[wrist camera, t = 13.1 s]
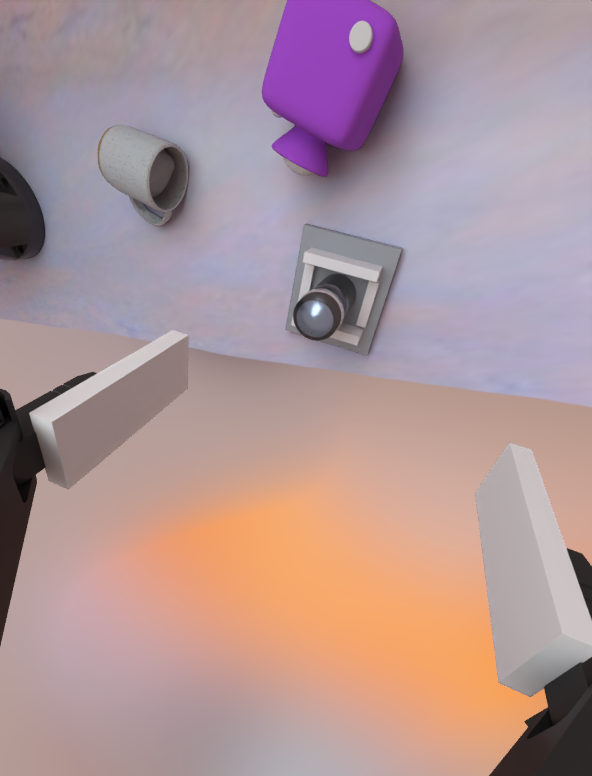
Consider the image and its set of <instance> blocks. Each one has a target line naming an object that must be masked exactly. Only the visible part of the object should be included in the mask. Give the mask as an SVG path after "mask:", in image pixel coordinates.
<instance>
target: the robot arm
mask: <svg viewBox="0 0 592 776" xmlns="http://www.w3.org/2000/svg"><path fill="white" fill-rule="evenodd" d="M43 241H44V223H43V218H42V214H41V211H40V208H39V205H38V203H37V200H36V198H35V196H34V194H33V192H32V190H31V189H30V187H29V186H28V184H27V183H26V181H25V180H24V178H23V177H22V176H21V175H20V174H19V173H18V171H17V170H16V169H15V168H14V167H12V166H11V165H10V164H9V163H8V162H6V161H5V160H3V159H2V158H0V259H4V260H21V259H26V258H31V257H33V256H35V255H36V254H37V253H38V252H39V251H40V249H41V247H42V245H43ZM188 336H189V335H187V334H184V333H181V332H178V331H175V330H172V331H170V332H168V333H167V334H165V335H163V336H161V337H160V338H158V339H156V340H154V341H153V342H151V343H150V344H148V345H146V346H144V347H142V348H141V349H139V350H138V351H135V352H134V353H132V354H130V355H128V356H127V357H125V358H123V359H122V360H120V361H118V362H116V363H115V364H113V365H111V366H109V367H108V368H106V369H104V370H103V371H101V372H99V373H94V372H91V373H87V374H84V375H81V376H77V377H75V378H73V379H71V380H70V381H68V382H66V383H64V385H63V386H62V385H61V386H59V387H57V388H55V389H54V390H53V391H50V392H48V393H46V394H44V395H43V396H41V397H39V398H37V399H35V400H33V401H32V402H30V403H28V404H26V405H24V406H23V407H21V408H19V409H17V410H15V409H14V406H13V402H12V399H11V396H10V394H9V393H8V392H7V391H6V390H3V389H0V645H1V640H2V636H3V631H4V627H5V623H6V618H7V613H8V609H9V605H10V600H11V596H12V591H13V587H14V582H15V577H16V573H17V569H18V564H19V560H20V556H21V551H22V547H23V542H24V537H25V533H26V529H27V524H28V520H29V515H30V511H31V507H32V502H33V497H34V493H35V489H36V484H37V479H36V474H37V473H38V472H40V471H41V470H42V469H44V468H45V469H46V473H47V476H48V480H49V481H51V482H53V483H55V484H58V485H60V486H62V487H64V488H67V489H70V488H71V487H72V486H73V485H74V484H76V483H77V482H78V481H79V480H80V479H81V478H82V477H84V476H85V475H86V474H87V473H89V472H90V471H91V470H92V469H93V468H94V467H96V466H97V465H98V464H99V463H100V462H101V461H103V460H104V459H105V458H106V457H107V456H109V455H110V454H111V453H112V452H113V451H114V450H116V449H117V448H118V447H119V446H120V445H122V444H123V443H124V442H125V441H126V440H127V439H129V438H130V437H131V436H132V435H133V434H135V433H136V432H137V431H138V430H139V429H140V428H142V427H143V426H144V425H145V424H146V423H147V422H149V421H150V420H151V419H152V418H153V417H155V416H156V415H157V414H158V413H159V412H160V411H162V410H163V409H164V408H165V407H166V406H168V405H169V404H170V403H171V402H172V401H173V400H174V399H176V398H177V397H178V396H179V395H180V394H182V393H183V392H184V391H185V390H186V389H188ZM475 496H476V503H477V504H476V505H477V513H478V521H479V529H480V537H481V545H482V553H483V561H484V569H485V578H486V586H487V593H488V601H489V610H490V618H491V626H492V634H493V642H494V651H495V659H496V667H497V675H498V683H500V684H502V685H504V686H507V687H509V688H511V689H514V690H516V691H518V692H520V693H522V694H524V695H527V696H529V697H531V696H533V695H534V694H536V693H538V692H539V691H541V690H542V689H545V694H546V699H547V703H548V708H546V709H544V710H543V711H541V712H539V713H538V714H536V715H534V716H533V717H531V718H529V719H528V720H526V721H525V723H526V724H527V726H528V728H527V730H526V731H525V732H524V733H523V734H522V736H521V737H520V738H519V739H518V741H517V742H516V743H515V744H514V746H513V747H512V748H511V749H510V751H509V752H508V753H507V754H506V756H505V757H504V758H503V759H502V760H501V762H500V763H499V764H498V765H497V767H496V768H495V769H494V771H493V772H492V773H491V774H490V775H489V776H592V566H591V565H590V563H589V562H588V561H587V559H586V558H585V557H584V556H583V554H581V553H578V552H576V551H573V550H570V549H568V548H566V546H565V543H564V540H563V537H562V534H561V532H560V529H559V526H558V523H557V520H556V517H555V514H554V512H553V509H552V506H551V503H550V500H549V497H548V495H547V492H546V489H545V486H544V483H543V480H542V477H541V475H540V472H539V469H538V466H537V463H536V460H535V458H534V455H533V452H532V450H531V449H528V448H525V447H522V446H519V445H516V444H513V443H509V444H508V445H507V447H506V448H505V450H504V451H503V453H502V454H501V456H500V457H499V459H498V460H497V462H496V463H495V464H494V466H493V467H492V469H491V470H490V472H489V473H488V475H487V476H486V478H485V479H484V481H483V482H482V484H481V485H480V487H479V488H478V489H477V491H476V492H475Z"/></svg>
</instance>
